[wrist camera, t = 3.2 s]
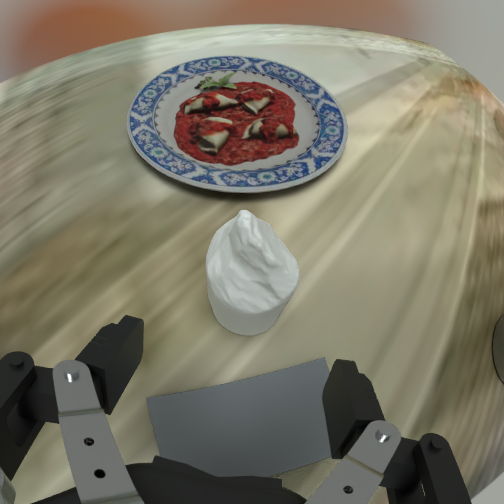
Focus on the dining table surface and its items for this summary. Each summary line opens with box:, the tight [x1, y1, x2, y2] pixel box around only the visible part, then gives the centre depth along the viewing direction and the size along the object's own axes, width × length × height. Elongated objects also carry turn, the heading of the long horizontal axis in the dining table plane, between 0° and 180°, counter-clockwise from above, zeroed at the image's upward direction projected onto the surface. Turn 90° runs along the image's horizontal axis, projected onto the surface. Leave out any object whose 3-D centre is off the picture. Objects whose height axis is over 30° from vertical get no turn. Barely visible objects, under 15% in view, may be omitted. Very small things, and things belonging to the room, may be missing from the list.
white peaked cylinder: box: [206, 210, 299, 336], centre depth 20 cm, size 6×12×6 cm
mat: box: [146, 357, 331, 477], centre depth 21 cm, size 14×8×1 cm, turn 105°
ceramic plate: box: [127, 56, 348, 193], centre depth 35 cm, size 26×26×3 cm
